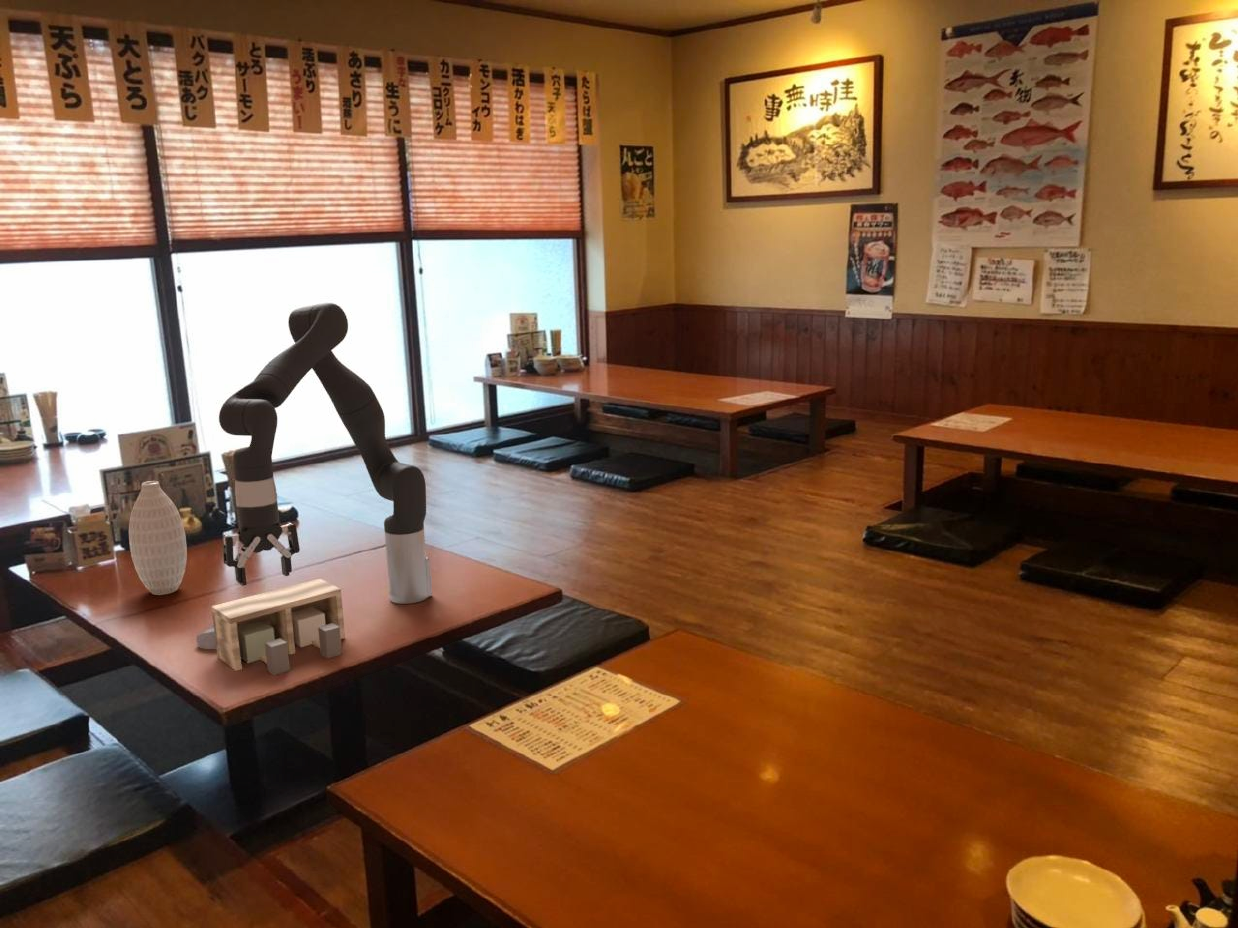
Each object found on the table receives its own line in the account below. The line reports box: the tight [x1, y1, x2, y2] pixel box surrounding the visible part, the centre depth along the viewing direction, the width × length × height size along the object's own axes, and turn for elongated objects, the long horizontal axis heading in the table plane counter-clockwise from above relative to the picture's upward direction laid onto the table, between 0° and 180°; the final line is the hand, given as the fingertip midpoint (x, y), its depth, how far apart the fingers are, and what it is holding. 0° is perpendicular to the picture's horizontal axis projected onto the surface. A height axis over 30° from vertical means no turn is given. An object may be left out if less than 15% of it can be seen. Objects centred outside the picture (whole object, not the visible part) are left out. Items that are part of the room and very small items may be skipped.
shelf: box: [210, 578, 346, 671], centre depth 210 cm, size 10×24×11 cm, turn 132°
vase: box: [128, 480, 188, 596], centre depth 245 cm, size 13×13×28 cm
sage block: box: [237, 620, 291, 676], centre depth 203 cm, size 16×6×6 cm, turn 42°
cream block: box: [291, 607, 343, 659], centre depth 210 cm, size 16×6×6 cm, turn 42°
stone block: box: [196, 624, 217, 650], centre depth 216 cm, size 12×5×10 cm
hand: (264, 579), depth 195 cm, fingers open, 8 cm apart
